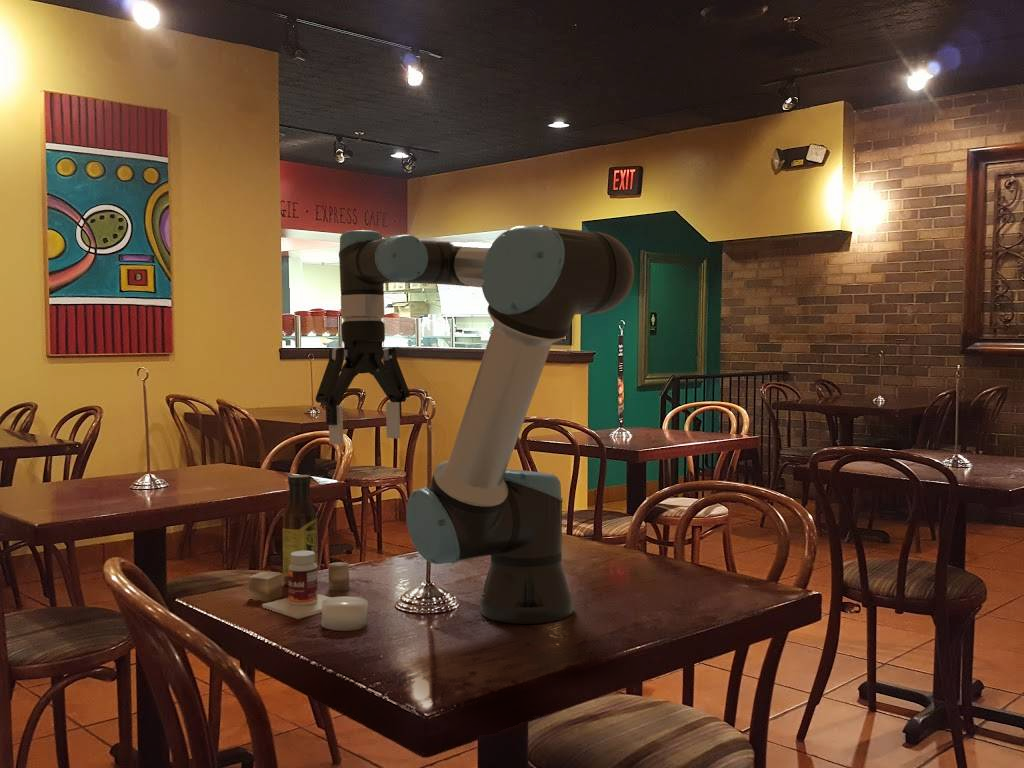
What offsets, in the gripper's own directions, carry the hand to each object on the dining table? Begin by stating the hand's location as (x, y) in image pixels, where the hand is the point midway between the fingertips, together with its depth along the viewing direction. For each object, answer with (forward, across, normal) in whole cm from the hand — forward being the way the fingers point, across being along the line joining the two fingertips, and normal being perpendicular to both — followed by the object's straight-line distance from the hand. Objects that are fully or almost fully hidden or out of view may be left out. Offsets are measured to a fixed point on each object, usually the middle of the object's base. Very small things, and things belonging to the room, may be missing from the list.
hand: (365, 441), depth 166 cm
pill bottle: (+26, +13, -2) cm, 29 cm away
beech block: (+27, +13, -12) cm, 32 cm away
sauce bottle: (+27, +3, -15) cm, 31 cm away
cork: (+27, +2, -6) cm, 27 cm away
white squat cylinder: (+27, +16, +11) cm, 33 cm away
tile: (+27, +13, -2) cm, 30 cm away
